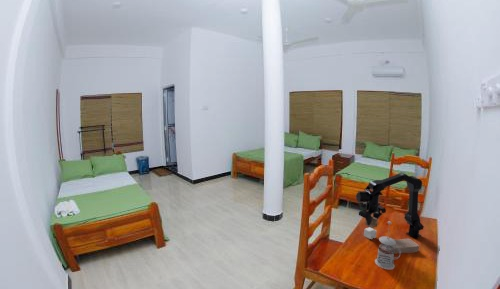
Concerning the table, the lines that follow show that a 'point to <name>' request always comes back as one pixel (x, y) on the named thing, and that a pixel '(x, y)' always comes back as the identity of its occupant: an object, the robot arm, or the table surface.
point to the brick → (406, 246)
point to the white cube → (370, 233)
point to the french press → (386, 246)
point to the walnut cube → (372, 223)
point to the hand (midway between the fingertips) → (371, 224)
